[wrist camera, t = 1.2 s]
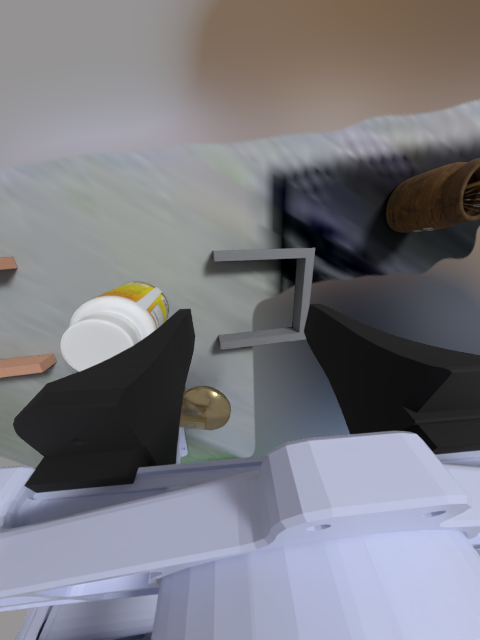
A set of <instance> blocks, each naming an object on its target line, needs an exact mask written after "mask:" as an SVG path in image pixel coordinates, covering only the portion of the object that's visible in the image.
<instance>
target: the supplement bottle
mask: <svg viewBox="0 0 480 640" xmlns="http://www.w3.org/2000/svg"><path fill="white" fill-rule="evenodd" d="M168 313H169V304H168V301H167V298H166V297H165V295H164V294H163V292H162V291H161V290H160V289H158V288H157V287H155V286H154V285H152V284H149V283H146V282H130V283H127V284H125V285H122V286H120V287H118V288H116V289H114V290H111V291H109V292H107V293H105V294H103V295H100V296H98V297H96V298H94V299H91V300H89V301H87V302H86V303H84V304H83V305H81V306H80V307H79V308H78V309H77V310H76V311H75V313H74V314H73V316H72V318H71V320H70V325H69V328H68V329H67V330H66V331H65V333H64V334H63V336H62V339H61V352H62V355H63V357H64V359H65V360H66V361H67V363H68V364H69V365H70V366H71V367H73V368H74V369H75V370H77V371H78V372H80V371H82V370H85V369H87V368H90V367H92V366H94V365H96V364H99V363H101V362H103V361H105V360H107V359H109V358H111V357H113V356H115V355H117V354H119V353H121V352H123V351H124V350H126V349H128V348H130V347H132V346H133V345H135V344H136V343H138V342H140V341H141V340H143V339H144V338H145V337H147V336H148V335H150V334H151V333H152V332H153V331H155V330H156V329H157V328H159V327H160V326H161V325H162V324H163V323H165V321H166V319H167V317H168Z"/></svg>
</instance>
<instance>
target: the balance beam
mask: <svg viewBox="0 0 480 640" xmlns="http://www.w3.org/2000/svg"><path fill="white" fill-rule="evenodd" d="M230 412H231V406H230V403H229V400H228V399H227V397H226V396H225V395H224V394H223V393H221V392H220V391H218V390H217V389H214V388H212V387H207V386H197V387H193V388H191V389H189V390H188V391H186V392H185V394H184V395H183V402H182V409H181V414H182V415H181V418H180V426H179V427H183V428H196V429H204V430H214V429H218V428H220V427H222V426H224V425H225V424H226V423H227V422H228V420H229V418H230Z"/></svg>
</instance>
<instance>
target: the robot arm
mask: <svg viewBox="0 0 480 640" xmlns="http://www.w3.org/2000/svg"><path fill="white" fill-rule="evenodd" d="M304 334H305V337H306V339H307V342H308V344H309V346H310V348H311V350H312V351H313V353H314V355H315V357H316V358H317V360H318V362H319V363H320V365H321V367H322V368H323V370H324V372H325V374H326V376H327V377H328V379H329V381H330V384H331V386H332V388H333V390H334V393H335V395H336V397H337V400H338V403H339V405H340V407H341V410H342V413H343V415H344V418H345V421H346V424H347V426H348V429H349V432H350V435H340V436H327V437H317V438H305V439H300V440H296V441H291V442H286V443H284V444H282V445H280V446H278V447H276V448H274V449H273V450H271V451H270V452H269V454H268V455H267V456H260V457H249V458H238V459H227V460H216V461H205V462H194V463H183V464H180V459H181V457H182V456H185V455H187V454H188V449H187V444H186V438H185V432H184V428H183V427H179V426H180V418H181V409H182V402H183V395H184V388H185V383H186V379H187V375H188V371H189V367H190V363H191V359H192V355H193V351H194V342H195V333H194V327H193V321H192V315H191V309H180V310H178V311H177V312H176V313H175V314H174V315H173V316H171V317H170V318H169V319H168V320H167V321H166V322H165V323H163V324H162V325H161V326H160V327H159V328H157V329H156V330H155V331H153V332H152V333H151V334H150V335H148V336H147V337H145V338H144V339H143V340H141V341H140V342H138V343H136V344H135V345H133V346H132V347H130V348H128V349H126V350H124V351H123V352H121V353H119V354H117V355H115V356H113V357H111V358H109V359H107V360H105V361H103V362H101V363H99V364H96V365H94V366H92V367H90V368H87V369H85V370H82V371H80V372H77V373H75V374H72V375H69V376H67V377H64V378H61V379H59V380H56V381H53V382H50V383H48V384H46V385H45V387H44V388H43V389H42V390H41V391H40V392H39V393H38V394H37V395H36V396H35V397H34V398H33V399H32V400H31V401H30V402H29V404H28V405H27V406H26V407H25V408H24V409H23V410H22V411H21V412H20V413H19V414H18V415H17V416H16V417H15V419H14V423H13V426H14V429H15V431H16V433H17V434H18V436H19V437H20V438H21V439H23V440H24V441H25V442H26V443H28V444H29V445H30V446H31V447H33V448H34V449H35V450H37V451H38V452H39V453H40V454H42V455H43V456H44V458H43V459H42V461H41V462H40V464H39V465H38V466H37V468H35V467H31V466H13V467H2V468H0V612H3V611H12V610H20V609H29V610H28V612H27V614H26V616H25V618H24V620H23V623H22V625H21V627H20V629H19V632H18V634H17V636H16V639H15V640H480V556H479V554H478V553H477V552H476V550H480V355H475V354H469V353H464V352H458V351H453V350H448V349H443V348H439V347H434V346H430V345H426V344H422V343H418V342H414V341H411V340H407V339H404V338H401V337H397V336H394V335H391V334H388V333H386V332H383V331H380V330H377V329H375V328H372V327H370V326H367V325H365V324H363V323H360V322H358V321H356V320H354V319H351V318H349V317H347V316H345V315H343V314H341V313H339V312H337V311H335V310H333V309H331V308H329V307H326V306H324V305H321V304H310V305H309V310H308V314H307V319H306V323H305V327H304ZM43 622H44V623H43Z"/></svg>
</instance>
